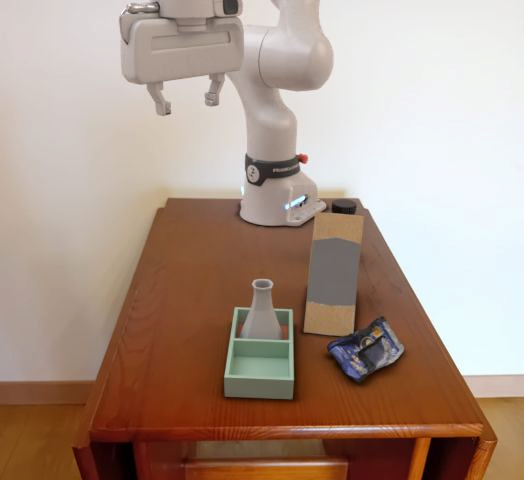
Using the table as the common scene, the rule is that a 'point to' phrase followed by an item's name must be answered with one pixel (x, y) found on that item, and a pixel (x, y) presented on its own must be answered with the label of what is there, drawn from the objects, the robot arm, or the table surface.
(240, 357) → the two-compartment tray
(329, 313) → the sandwich container
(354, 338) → the snack package
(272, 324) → the flask
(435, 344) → the table surface
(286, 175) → the robot arm
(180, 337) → the table surface
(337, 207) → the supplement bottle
